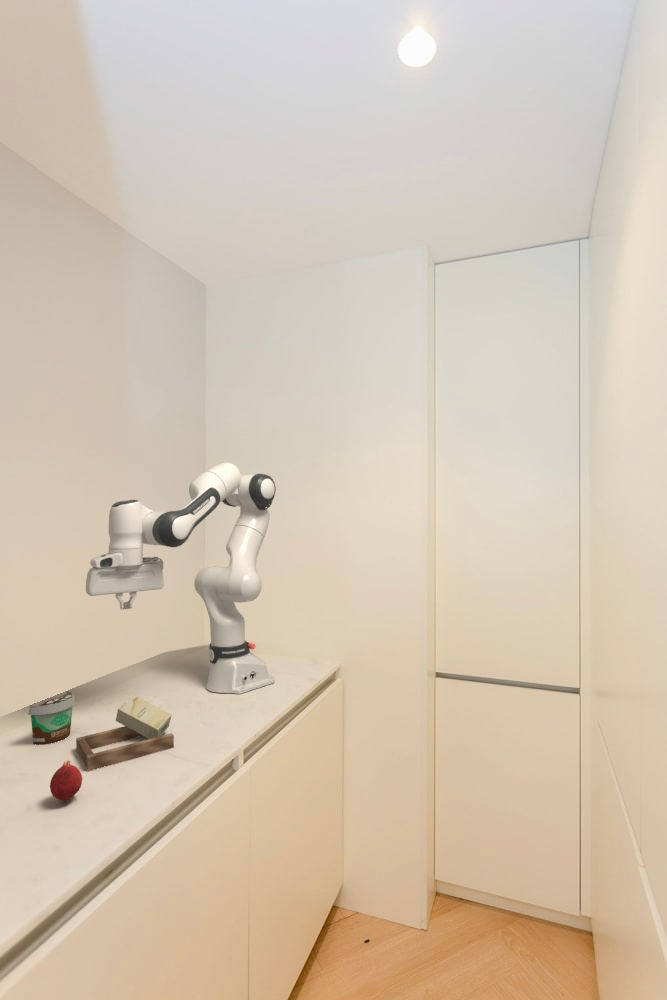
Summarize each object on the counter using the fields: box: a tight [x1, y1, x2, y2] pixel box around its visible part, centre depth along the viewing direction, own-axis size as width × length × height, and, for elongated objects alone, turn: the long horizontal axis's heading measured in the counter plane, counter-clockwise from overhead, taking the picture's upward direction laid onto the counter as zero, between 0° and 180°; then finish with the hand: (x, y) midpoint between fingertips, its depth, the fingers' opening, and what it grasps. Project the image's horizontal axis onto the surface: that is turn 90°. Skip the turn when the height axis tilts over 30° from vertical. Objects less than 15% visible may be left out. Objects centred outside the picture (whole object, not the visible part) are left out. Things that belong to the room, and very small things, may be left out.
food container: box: [27, 690, 76, 746], centre depth 137 cm, size 12×6×10 cm, turn 160°
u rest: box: [75, 725, 175, 772], centre depth 131 cm, size 20×13×3 cm, turn 126°
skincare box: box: [115, 694, 172, 739], centre depth 137 cm, size 6×4×12 cm
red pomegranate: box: [49, 759, 83, 803], centre depth 108 cm, size 6×6×8 cm
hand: (126, 608), depth 148 cm, fingers closed
